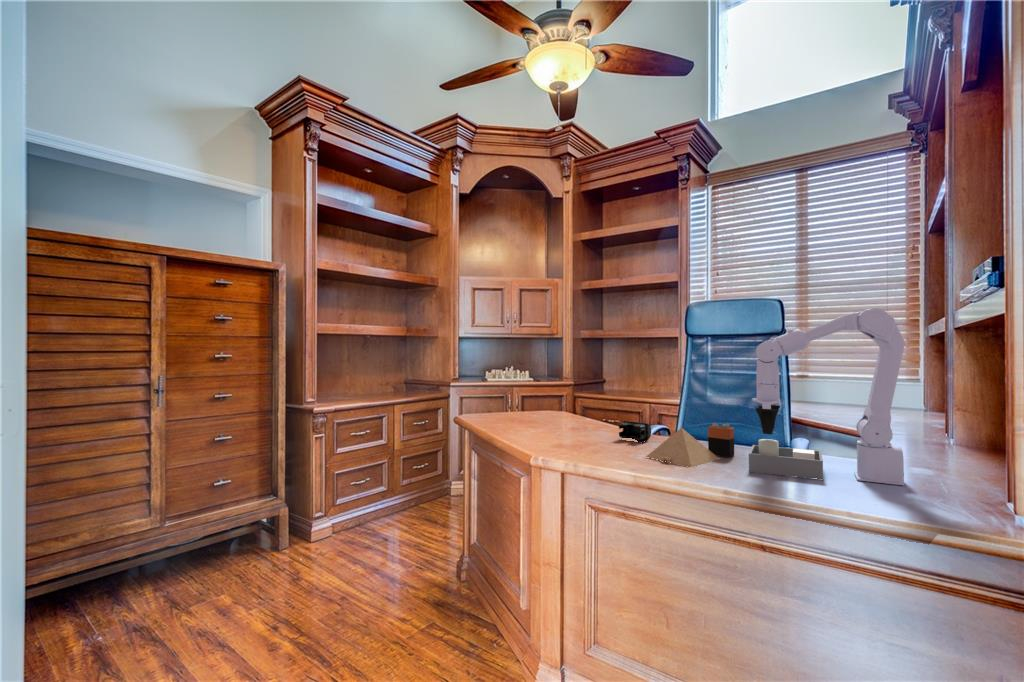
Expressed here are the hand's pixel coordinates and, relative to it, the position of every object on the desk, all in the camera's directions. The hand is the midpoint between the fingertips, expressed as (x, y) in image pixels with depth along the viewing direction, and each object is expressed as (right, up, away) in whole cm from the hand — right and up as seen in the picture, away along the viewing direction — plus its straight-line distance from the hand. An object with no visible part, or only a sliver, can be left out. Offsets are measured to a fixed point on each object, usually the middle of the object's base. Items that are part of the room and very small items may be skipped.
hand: (768, 431), depth 134 cm
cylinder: (0, -10, 0) cm, 10 cm away
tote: (+3, -10, -2) cm, 11 cm away
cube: (+7, -10, -4) cm, 13 cm away
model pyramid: (-20, -11, +13) cm, 26 cm away
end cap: (-27, -11, +41) cm, 51 cm away
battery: (-6, -11, +17) cm, 21 cm away
